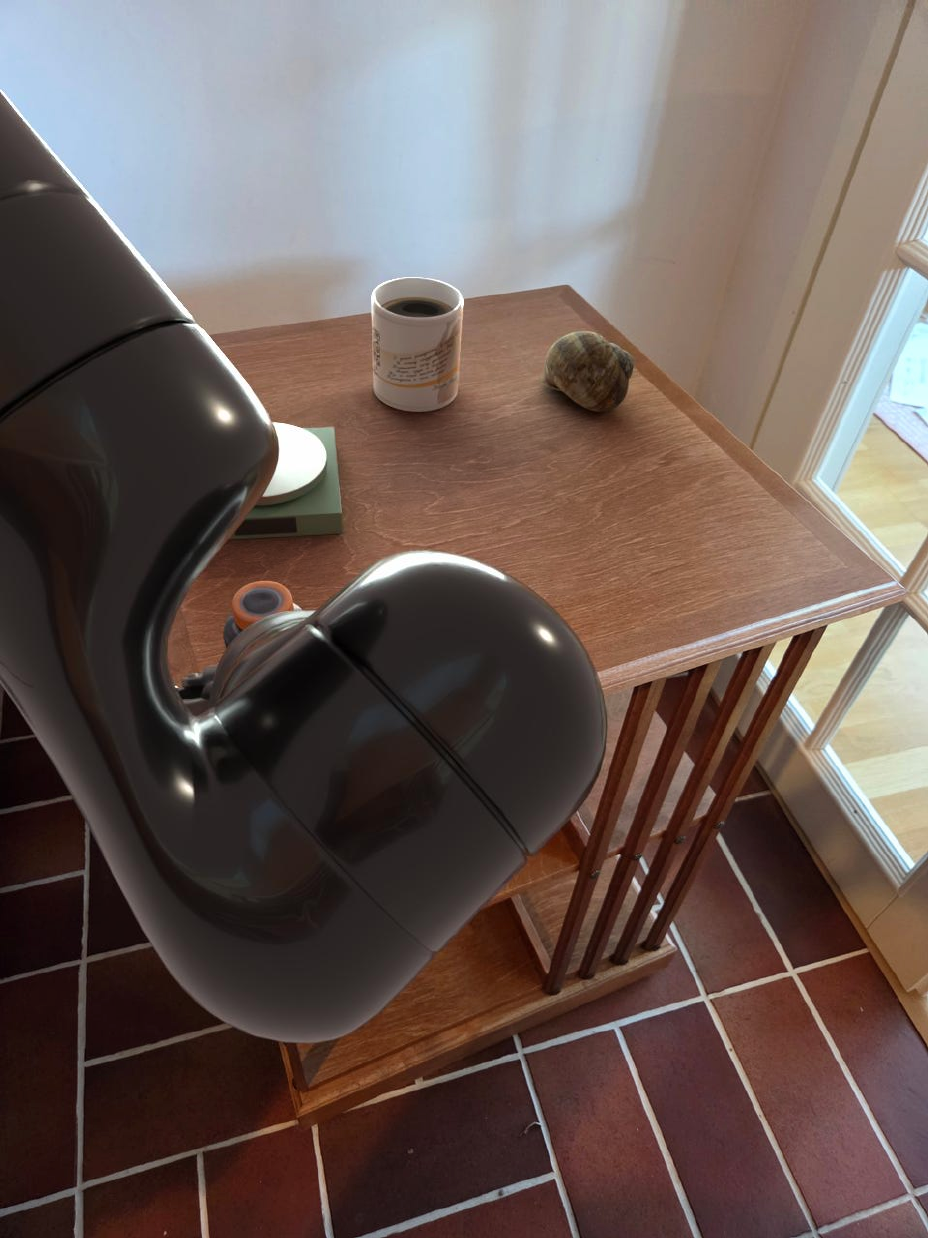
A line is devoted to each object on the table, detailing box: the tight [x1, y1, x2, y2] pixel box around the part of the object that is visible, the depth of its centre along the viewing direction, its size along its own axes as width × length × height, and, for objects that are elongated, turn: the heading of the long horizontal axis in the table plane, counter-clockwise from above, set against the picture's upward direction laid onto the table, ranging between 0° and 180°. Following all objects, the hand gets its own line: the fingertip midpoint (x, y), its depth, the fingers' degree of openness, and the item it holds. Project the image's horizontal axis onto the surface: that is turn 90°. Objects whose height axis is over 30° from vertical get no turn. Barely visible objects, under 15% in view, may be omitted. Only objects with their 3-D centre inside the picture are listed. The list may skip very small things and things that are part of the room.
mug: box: [371, 277, 464, 413], centre depth 93 cm, size 10×12×11 cm
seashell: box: [540, 330, 636, 412], centre depth 94 cm, size 11×9×8 cm
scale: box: [227, 422, 344, 541], centre depth 80 cm, size 14×14×4 cm
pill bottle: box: [222, 580, 303, 650], centre depth 60 cm, size 6×6×11 cm
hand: (282, 674), depth 49 cm, fingers open, 8 cm apart
